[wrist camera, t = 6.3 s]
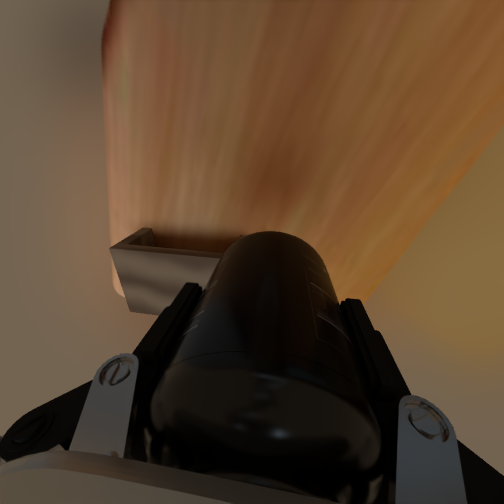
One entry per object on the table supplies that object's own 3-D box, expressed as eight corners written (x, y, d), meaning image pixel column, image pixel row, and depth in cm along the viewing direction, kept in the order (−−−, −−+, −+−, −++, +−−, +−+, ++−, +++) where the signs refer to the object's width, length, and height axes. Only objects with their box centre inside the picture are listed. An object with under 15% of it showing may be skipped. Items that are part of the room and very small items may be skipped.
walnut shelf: (142, 227, 37) (109, 248, 30) (250, 236, 34) (241, 260, 28) (155, 283, 42) (130, 311, 35) (248, 293, 40) (241, 325, 33)
